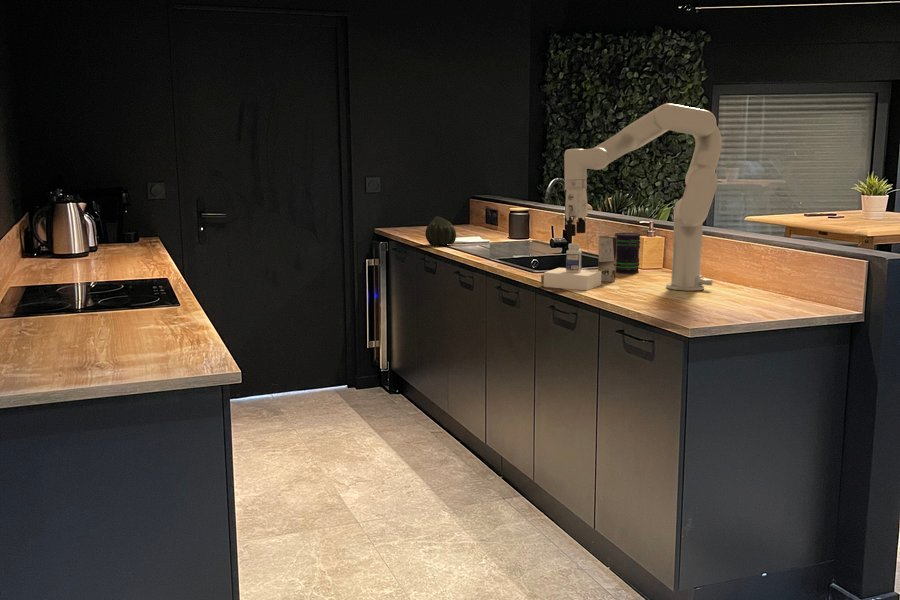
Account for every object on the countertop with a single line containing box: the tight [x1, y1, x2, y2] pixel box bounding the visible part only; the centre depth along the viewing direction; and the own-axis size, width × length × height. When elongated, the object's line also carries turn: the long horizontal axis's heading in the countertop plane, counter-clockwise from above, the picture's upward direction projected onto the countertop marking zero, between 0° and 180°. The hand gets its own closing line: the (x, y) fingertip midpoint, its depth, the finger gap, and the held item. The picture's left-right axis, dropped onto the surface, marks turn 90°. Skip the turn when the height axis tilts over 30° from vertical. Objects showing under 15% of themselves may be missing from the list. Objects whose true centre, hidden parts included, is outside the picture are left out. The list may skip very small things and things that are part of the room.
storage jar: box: [614, 232, 641, 275], centre depth 336 cm, size 10×10×15 cm
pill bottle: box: [565, 243, 583, 273], centre depth 302 cm, size 5×5×10 cm
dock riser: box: [540, 267, 602, 291], centre depth 304 cm, size 17×14×5 cm
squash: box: [424, 215, 457, 247], centre depth 426 cm, size 14×15×15 cm
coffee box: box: [597, 234, 617, 283], centre depth 316 cm, size 9×6×16 cm
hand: (576, 234), depth 301 cm, fingers open, 9 cm apart
